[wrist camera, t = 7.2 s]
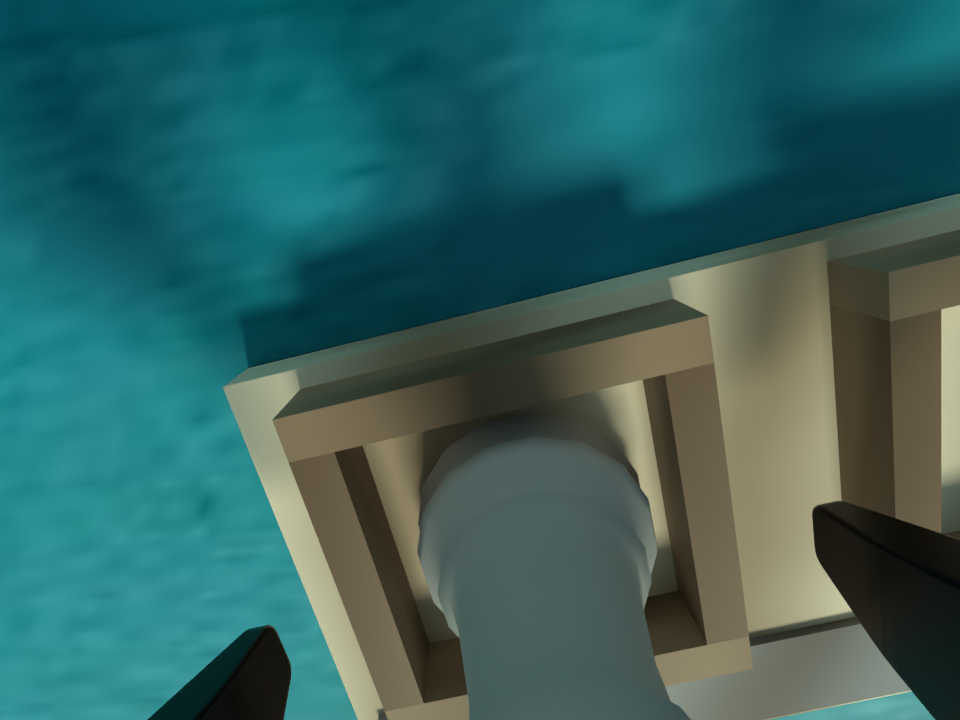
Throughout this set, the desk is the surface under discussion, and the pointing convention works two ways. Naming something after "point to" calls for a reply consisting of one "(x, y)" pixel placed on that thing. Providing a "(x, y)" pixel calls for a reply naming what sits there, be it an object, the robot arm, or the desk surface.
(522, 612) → the rook chess piece
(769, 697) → the board
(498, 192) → the desk surface
